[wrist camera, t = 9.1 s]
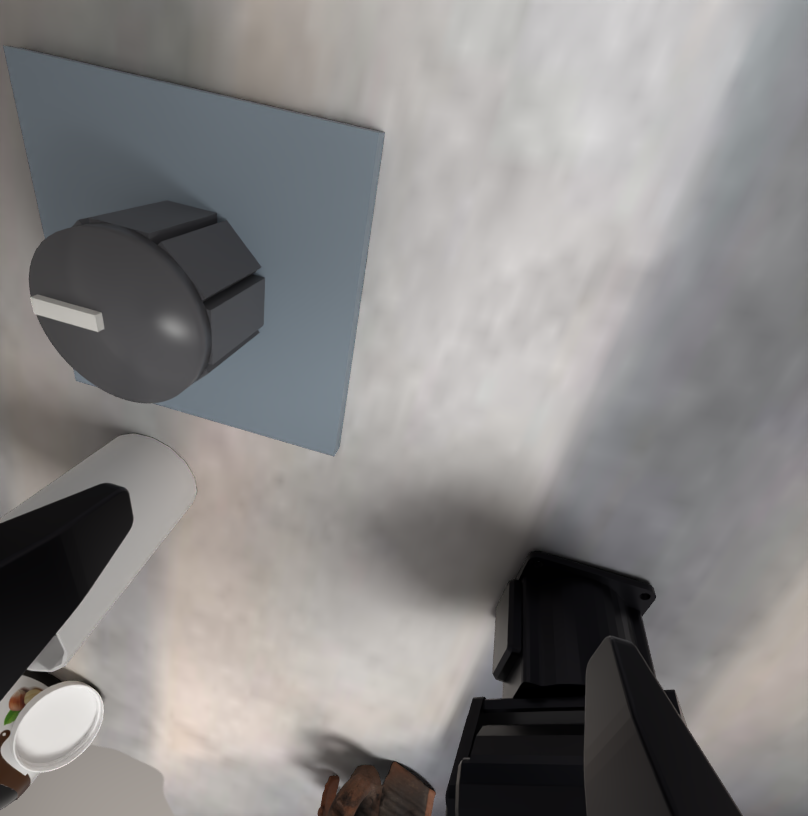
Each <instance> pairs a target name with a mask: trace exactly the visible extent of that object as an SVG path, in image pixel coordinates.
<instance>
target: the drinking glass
mask: <svg viewBox="0 0 808 816" xmlns="http://www.w3.org/2000/svg"><path fill="white" fill-rule="evenodd" d="M101 483H112V484H115V485H119V486H122V487H125V488H126V489H127V490H128V491H129V494H130V500H131V505H132V511H133V516H134V520H133V525H132V527H131V529H130V531H129V533H128V534H127V536H126V537H125V539H124V540H123V542H122V543H121V545H120V546H119V548H118V549H117V551H116V552H115V554H114V555H113V557H112V558H111V560H110V561H109V563H108V564H107V566H106V567H105V569H104V570H103V572H102V573H101V574H100V576H99V577H98V579H97V580H96V582H95V583H94V585H93V586H92V588H91V589H90V591H89V592H88V594H87V595H86V596H85V598H84V599H83V601H82V602H81V603H80V605H79V606H78V607H77V608H76V610H75V611H74V612H73V613H72V615H71V616H70V617H69V618H68V620H67V621H66V622H65V623H64V625H63V626H62V627H61V628H60V629H59V631H58V632H57V633H56V634H55V635H54V637H53V638H52V639H51V640H50V642H49V643H48V644H47V645H46V646H45V648H44V649H43V650H42V651H41V653H40V654H39V655H38V656H37V657H36V659H35V660H34V661H33V662H32V664H31V665H30V666H29V667H28V668H27V670H31V671H42V672H53V671H56V670H58V669H60V668H62V667H64V666H66V664H67V663H68V662H69V660H70V659H71V658H72V657H73V655H74V654H75V653H76V652H77V650H78V649H79V648H80V646H81V645H82V644H83V643H84V641H85V640H86V639H87V638H88V636H89V635H90V634H91V632H92V631H93V630H94V629H95V627H96V626H97V625H98V623H99V622H100V621H101V620H102V618H103V617H104V616H105V615H106V613H107V612H108V611H109V609H110V608H111V607H112V606H113V604H114V603H115V602H116V600H117V599H118V598H119V597H120V595H121V594H122V593H123V592H124V590H125V589H126V588H127V586H128V585H129V584H130V583H131V581H132V580H133V579H134V578H135V576H136V575H137V574H138V572H139V571H140V570H141V569H142V567H143V566H144V565H145V563H146V562H147V561H148V560H149V558H150V557H151V556H152V555H153V553H154V552H155V551H156V549H157V548H158V547H159V546H160V544H161V543H162V542H163V541H164V539H165V538H166V537H167V535H168V534H169V533H170V532H171V530H172V529H173V528H174V526H175V525H176V524H177V523H178V521H179V520H180V519H181V518H182V516H183V515H184V514H185V512H186V511H187V510H188V509H189V507H190V506H191V505H192V504H193V501H194V499H195V496H196V494H197V489H196V483H195V477H194V476H193V474H192V472H191V471H190V469H189V467H188V465H187V464H186V462H185V461H184V460H183V459H182V458H181V457H180V456H179V455H178V454H177V453H175V452H174V451H173V450H172V449H171V448H170V447H168V446H166V445H165V444H163V443H161V442H159V441H158V440H156V439H154V438H152V437H148V436H143V435H139V434H135V433H133V434H126V435H120V436H118V437H116V438H115V439H114V440H112V441H111V442H109V443H108V444H106V445H105V446H104V447H102V448H101V449H99V450H98V451H96V452H95V453H93V454H92V455H91V456H89V457H88V458H86V459H85V460H83V461H82V462H81V463H79V464H78V465H76V466H75V467H73V468H72V469H70V470H69V471H68V472H66V473H65V474H63V475H62V476H60V477H59V478H58V479H56V480H55V481H53V482H52V483H50V484H49V485H47V486H46V487H45V488H43V489H42V490H40V491H39V492H37V493H36V494H35V495H33V496H32V497H30V498H29V499H27V500H26V501H24V502H23V503H22V504H20V505H19V506H17V507H16V508H14V509H13V510H12V511H10V512H9V513H7V514H6V515H4V516H3V517H1V518H0V523H2V522H5V521H7V520H10V519H12V518H15V517H17V516H20V515H22V514H25V513H27V512H30V511H32V510H35V509H38V508H40V507H43V506H45V505H48V504H50V503H53V502H55V501H58V500H60V499H63V498H65V497H68V496H70V495H73V494H76V493H78V492H81V491H83V490H86V489H88V488H91V487H93V486H96V485H98V484H101Z"/></svg>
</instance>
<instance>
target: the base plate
mask: <svg viewBox="0 0 808 816" xmlns="http://www.w3.org/2000/svg"><path fill="white" fill-rule="evenodd" d="M3 48H4V52H5V57H6V62H7V66H8V71H9V75H10V80H11V85H12V89H13V94H14V98H15V103H16V108H17V112H18V117H19V121H20V126H21V131H22V135H23V140H24V144H25V149H26V154H27V158H28V163H29V167H30V172H31V176H32V181H33V186H34V190H35V195H36V199H37V204H38V209H39V213H40V218H41V222H42V227H43V232H44V236H45V239H46V238H47V237H48V236H50V235H52V234H53V233H55V232H57V231H60V230H63V229H66V228H71V227H72V226H73V225H74V224H75V223H76V221H77V220H79V219H84V218H88V217H93V216H97V215H102V214H106V213H111V212H116V211H120V210H125V209H129V208H134V207H138V206H143V205H148V204H152V203H157V202H161V201H166V200H168V201H172V202H176V203H180V204H184V205H188V206H192V207H195V208H199V209H203V210H207V211H211V212H215V213H217V223H219V222H222V221H225V220H227V221H228V222H229V224H230V225H231V226H232V228H233V229H234V230H235V232H236V233H237V234H238V236H239V237H240V238H241V240H242V241H243V243H244V244H245V245H246V247H247V248H248V249H249V251H250V252H251V253H252V255H253V256H254V257H255V259H256V260H257V261H258V263H259V264H260V266H261V268H260V269H259V270H257V271H256V272H255V273H253V275H257V276H260V277H264V278H265V301H264V325H263V326H262V327H261V328H259V329H258V331H259V332H260V333H259V334H258V335H256V336H255V337H254V338H252V339H251V340H250V341H249V342H247V343H246V344H245V345H244V346H242V347H241V348H240V349H239V350H237V351H236V352H235V353H234V354H232V355H231V356H230V357H229V358H227V359H226V360H225V361H224V362H222V363H221V364H220V365H219V366H217V367H216V368H215V369H213V370H212V371H211V372H210V373H208V374H207V375H205V376H204V377H202V378H201V379H199V380H198V381H196V382H195V383H193V384H192V385H190V386H189V387H188V388H187V389H185V390H184V391H183V392H182V393H180V394H179V395H178V396H176V397H174V398H172V399H170V400H167V401H164V402H159V403H153V404H157V405H160V406H164V407H167V408H170V409H174V410H177V411H181V412H184V413H187V414H191V415H194V416H198V417H201V418H205V419H208V420H211V421H215V422H218V423H222V424H225V425H228V426H232V427H235V428H239V429H242V430H245V431H249V432H252V433H256V434H259V435H263V436H266V437H269V438H273V439H276V440H280V441H283V442H286V443H290V444H293V445H297V446H300V447H303V448H307V449H310V450H314V451H317V452H321V453H324V454H327V455H331V456H335V454H336V452H337V451H338V449H339V447H340V440H341V433H342V426H343V419H344V412H345V405H346V398H347V391H348V384H349V378H350V371H351V364H352V357H353V350H354V343H355V336H356V329H357V322H358V315H359V308H360V301H361V294H362V287H363V280H364V274H365V267H366V260H367V253H368V246H369V239H370V232H371V225H372V218H373V211H374V204H375V197H376V190H377V183H378V176H379V170H380V163H381V156H382V149H383V142H384V135H385V132H380V131H376V130H372V129H368V128H363V127H359V126H355V125H350V124H346V123H342V122H338V121H333V120H329V119H325V118H320V117H316V116H312V115H307V114H303V113H299V112H295V111H290V110H286V109H282V108H277V107H273V106H269V105H264V104H260V103H256V102H252V101H247V100H243V99H239V98H234V97H230V96H226V95H221V94H217V93H213V92H209V91H204V90H200V89H196V88H191V87H187V86H183V85H178V84H174V83H170V82H166V81H161V80H157V79H153V78H148V77H144V76H140V75H135V74H131V73H127V72H123V71H118V70H114V69H110V68H105V67H101V66H97V65H92V64H88V63H84V62H80V61H75V60H71V59H67V58H62V57H58V56H54V55H49V54H45V53H41V52H37V51H32V50H28V49H24V48H17V47H11V46H4V45H3ZM73 370H74V369H73ZM74 374H75V379H76V381H78V382H82V383H85V384H88V385H92V386H95V385H94V384H92V383H91V382H89V381H88V380H86V379H85V378H84V377H83V376H81V375H80V374H79V373H78V372H77V371H76V370H74ZM95 387H97V386H95Z"/></svg>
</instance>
